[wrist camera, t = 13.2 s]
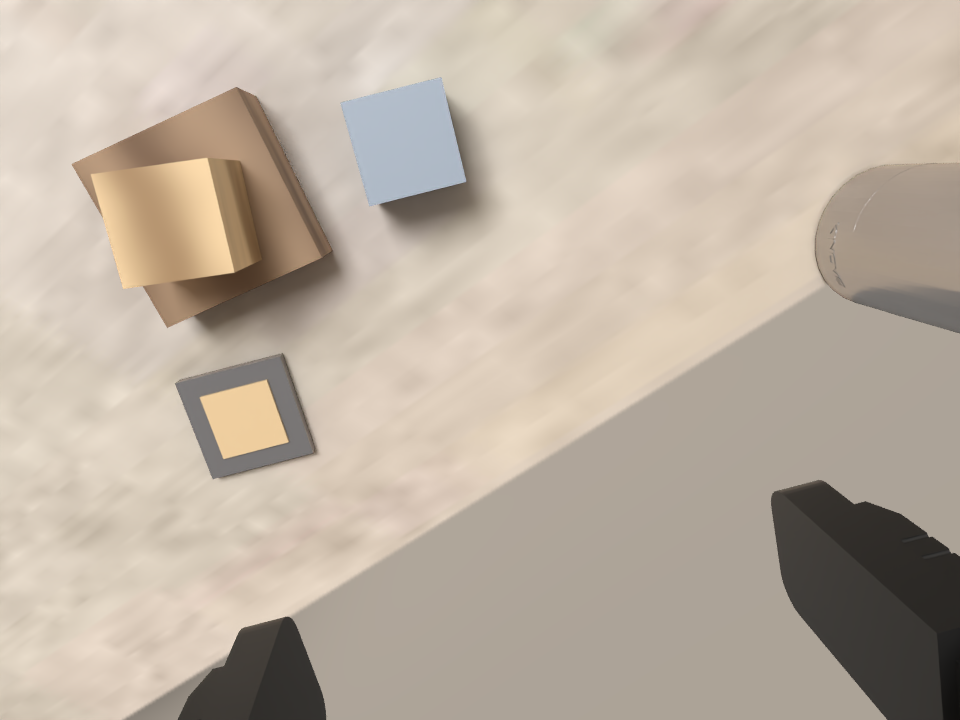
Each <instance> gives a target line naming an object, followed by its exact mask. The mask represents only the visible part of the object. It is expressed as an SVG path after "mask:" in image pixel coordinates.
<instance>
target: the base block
mask: <svg viewBox="0 0 960 720" xmlns="http://www.w3.org/2000/svg"><path fill="white" fill-rule="evenodd" d="M202 158H215V159H226V160H237V161H240V164H241V168H242V173H243V177H244V182H245V186H246V191H247V195H248V199H249V204H250V208H251V213H252V217H253V222H254V226H255V230H256V235H257V239H258V244H259V248H260V253H261V257H262V260H260V261H258V262H256V263H254V264H252V265H250V266H248V267H245V268H243V269H241V270H239V271H237V272H235V273H228V274H222V275H215V276H208V277H201V278H194V279H187V280H181V281H174V282H167V283H160V284H153V285H146V286H143V287H144V289H145V291H146V292H147V294H148V296H149V297H150V299H151V301H152V303H153V304H154V306H155V308H156V309H157V311H158V313H159V314H160V316H161V318H162V320H163V321H164V323H165V325H166V326H167V328H168V327H170V326H172V325H174V324H177V323H179V322H181V321H183V320H185V319H188V318H190V317H192V316H194V315H196V314H199V313H201V312H203V311H205V310H208V309H210V308H212V307H214V306H216V305H219V304H221V303H223V302H225V301H227V300H230V299H232V298H234V297H236V296H239V295H241V294H243V293H245V292H247V291H250V290H252V289H254V288H256V287H258V286H261V285H263V284H265V283H267V282H270V281H272V280H274V279H276V278H278V277H281V276H283V275H285V274H287V273H289V272H292V271H294V270H296V269H298V268H301V267H303V266H305V265H307V264H309V263H312V262H314V261H316V260H318V259H320V258H322V257H324V256H325V255H327V254H328V253H330V252H331V251H332V249H331V246H330V244H329V242H328V240H327V238H326V236H325V234H324V232H323V230H322V228H321V226H320V224H319V222H318V220H317V218H316V216H315V214H314V212H313V210H312V208H311V206H310V204H309V202H308V200H307V198H306V196H305V194H304V192H303V190H302V188H301V186H300V184H299V182H298V180H297V178H296V176H295V174H294V172H293V170H292V168H291V166H290V164H289V162H288V160H287V158H286V156H285V154H284V152H283V150H282V148H281V146H280V144H279V142H278V140H277V138H276V136H275V134H274V132H273V130H272V128H271V126H270V124H269V121H268V119H267V117H266V115H265V113H264V111H263V109H262V107H261V105H260V103H259V101H258V99H257V97H256V96H254V95H252V94H250V93H248V92H246V91H243V90H241V89H239V88H237V87H236V88H233V89H231V90H229V91H227V92H225V93H223V94H221V95H218V96H216V97H214V98H212V99H210V100H208V101H206V102H203V103H201V104H199V105H197V106H195V107H193V108H191V109H189V110H186V111H184V112H182V113H180V114H178V115H176V116H174V117H171V118H169V119H167V120H165V121H163V122H161V123H159V124H156V125H154V126H152V127H150V128H148V129H146V130H144V131H141V132H139V133H137V134H135V135H133V136H131V137H129V138H127V139H124V140H122V141H120V142H118V143H116V144H114V145H112V146H109V147H107V148H105V149H103V150H101V151H99V152H97V153H94V154H92V155H90V156H88V157H86V158H84V159H82V160H80V161H77V162H75V163H73V164H72V166H73V168H74V169H75V171H76V173H77V174H78V176H79V178H80V180H81V181H82V183H83V185H84V186H85V188H86V190H87V191H88V193H89V195H90V197H91V198H92V200H93V202H94V203H95V205H96V207H97V209H98V210H99V212H100V214H101V215H102V212H101V209H100V205H99V202H98V198H97V195H96V191H95V188H94V184H93V181H92V177H91V174H96V173H103V172H110V171H117V170H124V169H131V168H138V167H145V166H153V165H160V164H167V163H174V162H181V161H188V160H195V159H202ZM102 217H103V216H102Z"/></svg>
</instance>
